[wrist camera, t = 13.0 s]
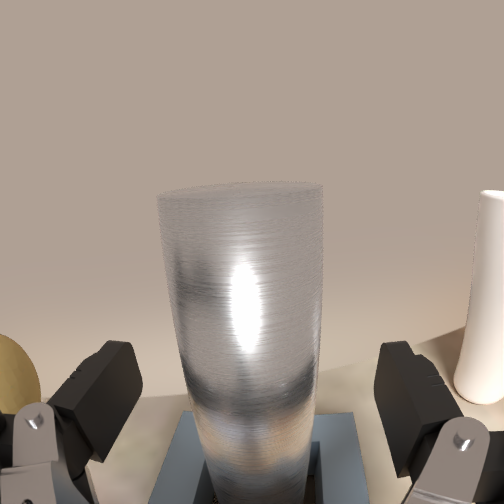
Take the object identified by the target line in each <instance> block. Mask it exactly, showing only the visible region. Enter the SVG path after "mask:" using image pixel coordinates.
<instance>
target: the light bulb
mask: <svg viewBox="0 0 504 504" xmlns="http://www.w3.org/2000/svg"><path fill="white" fill-rule="evenodd" d="M37 402H41V391H40V383H39V378H38V375H37V372H36V370H35V367H34V365H33V363H32V361H31V360H30V358H29V357H28V355H27V354H26V352H25V351H24V350H23V349H22V347H21V346H20V345H18V344H17V343H16V342H15V341H13V340H12V339H10V338H9V337H6V336H4V335H1V334H0V410H1V412H2V413H4V414H17V413H18V411H19V410H20V409H22V408H23V407H24V406H26V405H29V404H32V403H37Z"/></svg>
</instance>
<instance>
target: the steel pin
mask: <svg viewBox="0 0 504 504" xmlns="http://www.w3.org/2000/svg"><path fill="white" fill-rule="evenodd" d="M322 187H323V186H322V185H320V184H316V183H306V182H245V183H229V184H217V185H208V186H200V187H193V188H185V189H179V190H174V191H169V192H165V193H162V194H159V195H157V206H158V216H159V224H160V233H161V241H162V249H163V256H164V264H165V271H166V277H167V285H168V291H169V297H170V303H171V309H172V315H173V321H174V326H175V331H176V337H177V342H178V347H179V353H180V357H181V362H182V367H183V372H184V377H185V381H186V386H187V390H188V394H189V399H190V403H191V407H192V411H193V415H194V419H195V423H196V427H197V431H198V435H199V439H200V442H201V446H202V450H203V453H204V457H205V460H206V464H207V467H208V471H209V474H210V477H211V481H212V484H213V487H214V490H215V493H216V496H217V500H218V503H219V504H303V500H304V494H305V487H306V480H307V473H308V466H309V458H310V450H311V442H312V433H313V424H314V414H315V403H316V392H317V380H318V366H319V351H320V350H319V349H320V333H321V311H322V282H323V190H322V189H323V188H322Z"/></svg>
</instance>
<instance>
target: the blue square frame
mask: <svg viewBox="0 0 504 504" xmlns="http://www.w3.org/2000/svg"><path fill="white" fill-rule="evenodd" d="M307 475H314V476H315V504H370V503H369V496H368V490H367V484H366V478H365V473H364V467H363V462H362V456H361V451H360V446H359V441H358V436H357V431H356V426H355V421H354V416H353V412H351V413H338V414H323V415H314V424H313V433H312V442H311V450H310V458H309V466H308V473H307ZM214 492H215V490H214V487H213V484H212V481H211V477H210V474H209V471H208V467H207V464H206V460H205V457H204V453H203V450H202V446H201V442H200V439H199V435H198V431H197V427H196V423H195V419H194V415H193V412H189V411H183V413H182V416H181V418H180V421H179V423H178V426H177V429H176V431H175V434H174V436H173V439H172V441H171V444H170V447H169V449H168V452H167V454H166V457H165V460H164V462H163V465H162V468H161V470H160V473H159V475H158V478H157V481H156V483H155V486H154V488H153V491H152V494H151V496H150V499H149V502H148V504H212V501H213V497H214Z"/></svg>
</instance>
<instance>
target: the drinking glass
mask: <svg viewBox="0 0 504 504" xmlns="http://www.w3.org/2000/svg"><path fill="white" fill-rule="evenodd" d="M453 381H454V386H455V389H456V390H457V392H458V393H459V394H460V395H461V396H462V397H463V398H464V399H466V400H467V401H469V402H472V403H475V404H480V405H488V404H493V403H496V402H498V401H499V400H501V399H502V398H503V397H504V191H492V190H484V191H481V192H480V198H479V207H478V216H477V225H476V236H475V246H474V258H473V270H472V282H471V291H470V300H469V307H468V314H467V321H466V327H465V333H464V338H463V343H462V348H461V352H460V357H459V360H458V364H457V367H456V370H455V373H454V379H453Z"/></svg>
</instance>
